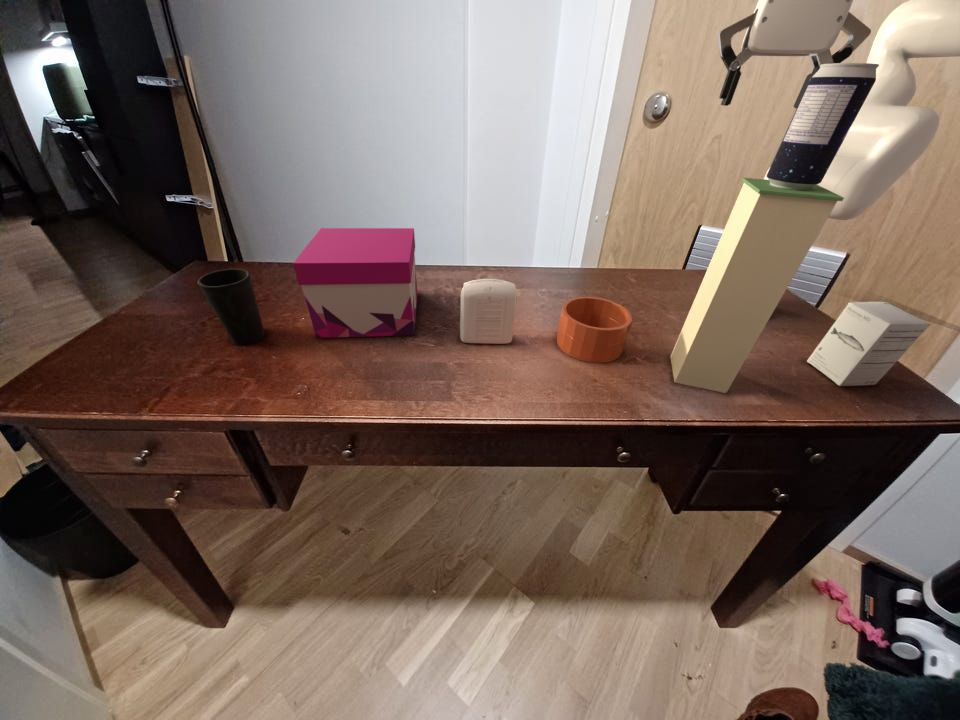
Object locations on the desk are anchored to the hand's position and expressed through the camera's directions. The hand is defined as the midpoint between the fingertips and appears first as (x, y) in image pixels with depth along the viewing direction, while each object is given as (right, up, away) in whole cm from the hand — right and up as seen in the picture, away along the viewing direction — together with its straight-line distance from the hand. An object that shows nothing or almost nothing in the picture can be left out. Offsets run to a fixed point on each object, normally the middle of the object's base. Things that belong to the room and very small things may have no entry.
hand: (761, 106), depth 54 cm
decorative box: (-64, -27, +24) cm, 74 cm away
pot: (-20, -34, +17) cm, 43 cm away
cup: (-85, -33, +16) cm, 93 cm away
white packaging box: (+23, -40, +12) cm, 48 cm away
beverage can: (-2, -15, -7) cm, 17 cm away
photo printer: (-40, -33, +18) cm, 55 cm away
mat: (-2, -16, -7) cm, 17 cm away
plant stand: (-3, -40, +11) cm, 41 cm away
